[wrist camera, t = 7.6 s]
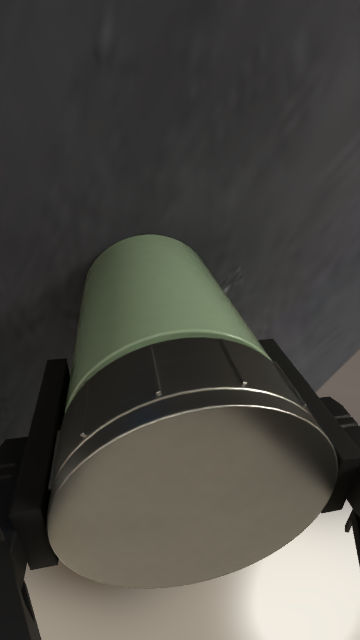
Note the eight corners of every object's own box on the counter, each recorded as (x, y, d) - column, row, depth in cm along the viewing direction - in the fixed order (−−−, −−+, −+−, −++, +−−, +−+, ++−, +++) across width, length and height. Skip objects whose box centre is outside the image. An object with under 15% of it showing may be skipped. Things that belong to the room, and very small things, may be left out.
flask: (236, 278, 22) (370, 439, 11) (164, 367, 25) (212, 571, 14) (128, 205, 19) (160, 329, 7) (58, 317, 21) (2, 537, 10)
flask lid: (2, 423, 11) (-32, 519, 8) (239, 286, 10) (286, 344, 7) (144, 529, 15) (152, 612, 12) (317, 441, 14) (363, 511, 11)
